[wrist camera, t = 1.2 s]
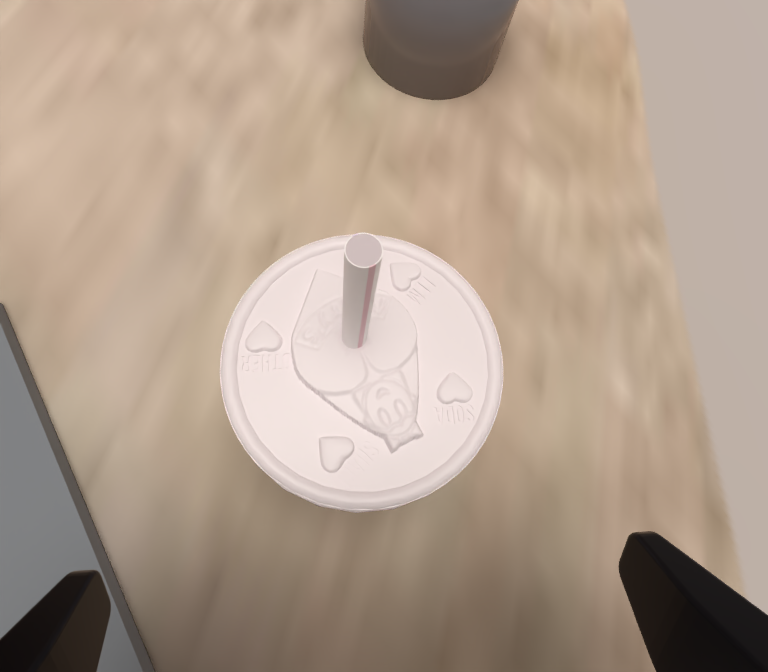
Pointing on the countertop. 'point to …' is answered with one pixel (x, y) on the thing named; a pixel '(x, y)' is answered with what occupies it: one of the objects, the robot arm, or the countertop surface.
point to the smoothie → (361, 372)
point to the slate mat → (47, 515)
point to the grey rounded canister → (435, 43)
